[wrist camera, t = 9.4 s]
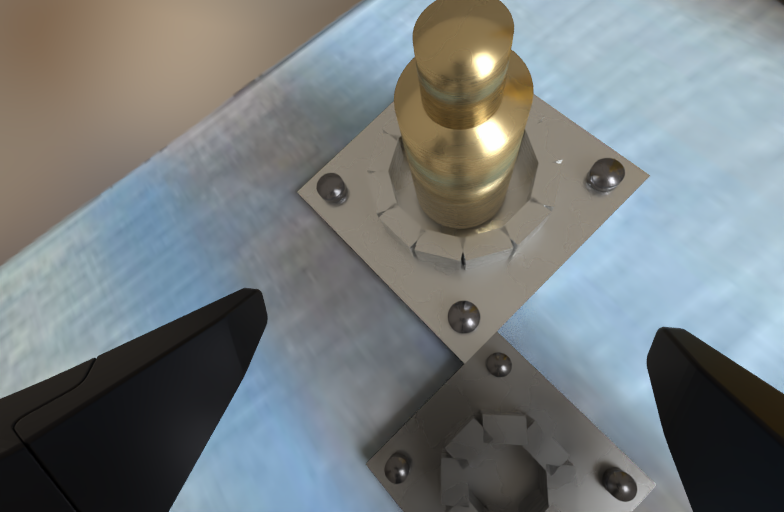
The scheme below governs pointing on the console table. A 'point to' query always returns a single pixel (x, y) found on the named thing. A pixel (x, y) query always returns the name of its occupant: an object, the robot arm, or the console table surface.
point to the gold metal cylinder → (463, 109)
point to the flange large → (480, 243)
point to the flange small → (505, 447)
